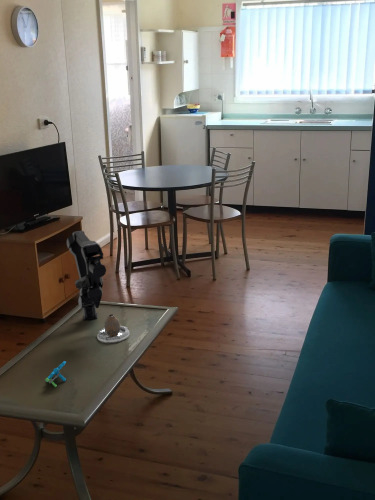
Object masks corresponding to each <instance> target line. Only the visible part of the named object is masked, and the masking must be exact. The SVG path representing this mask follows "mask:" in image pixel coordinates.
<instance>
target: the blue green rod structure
mask: <svg viewBox="0 0 375 500" xmlns="http://www.w3.org/2000/svg"><path fill="white" fill-rule="evenodd" d="M66 363H67V361H64V360H63V362H62V363H60V364H58V366H57V367H56V368H53V369H52V372H51V373H50V374H49V376H47V377H46V378H44V379H45V380H44V381H45V382H46V383H49V384H52V385H53V386H54V388H56V387H57V384H56V383H55V382H54V381H55V380H56V378H58V377H59V378H60V379H61V380H62V382H66V381H67V379H66V377H64V375H62V374H61V373H62V372H61V371H60V370H61V369H62V368H63V367H64V366H65V365H66ZM55 375H56V376H55ZM54 376H55V377H54Z"/></svg>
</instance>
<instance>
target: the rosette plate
mask: <svg viewBox="0 0 375 500" xmlns="http://www.w3.org/2000/svg"><path fill="white" fill-rule="evenodd" d="M130 334H131V333H130V330H129V329H128V326H124V325H121V324H120V331H119V333H118V334H117V335H114V336H110V335H108V334H107V333H106V331H105V328H104V327H103V328H101V329H99V330H98V333H97V334H96V335H97V336H96V337H97V341H98V342H100V343H104V344H114V343H119V342H122V341H125V340H126V339H128V338H129V337H130Z"/></svg>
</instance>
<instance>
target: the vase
mask: <svg viewBox="0 0 375 500" xmlns="http://www.w3.org/2000/svg"><path fill="white" fill-rule="evenodd" d="M120 325H121V323H120V320H119V319H118V318H117V317H116V316H115V314H113V313H110V314H108V316H107V318H106V319H105V322H104V327H103V328H105V331H106V333H107V334H108V335H110V336H114V335H117V334H118V333H119V331H120Z"/></svg>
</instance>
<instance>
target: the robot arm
mask: <svg viewBox="0 0 375 500" xmlns="http://www.w3.org/2000/svg"><path fill="white" fill-rule="evenodd" d="M66 246H67V249H68V250H69V252H70V254H71V255H72V256H73V257H74V261H75V264H76V269H77V272H78V277H79V279H77V280H75V282H74V285H75V288H76V289H77V290H78V291H79V296H78V301H77V302H78V306H79V307H80V308H81V309H83V316H82V317H83V318H82V320H83V321H86V320H95V319H98V312H97V310H96V309H99V307H100V304H101V300H102V299H103V298H102V297H103V287H104V286H103V285H104V278H103V277H104V276H105V275H106V273H107V267H106V266H105V265H104V264H103V263H102V262H101V260H104V252H103V250H102V248H101V246H100V244H99V243H98V242H97V241H95V240H91V239H90V238H88V236H87V235H86V234H85V231H84V230H78V231H73V232H72V234H71V235H70V236H68V237H67V239H66Z"/></svg>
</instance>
